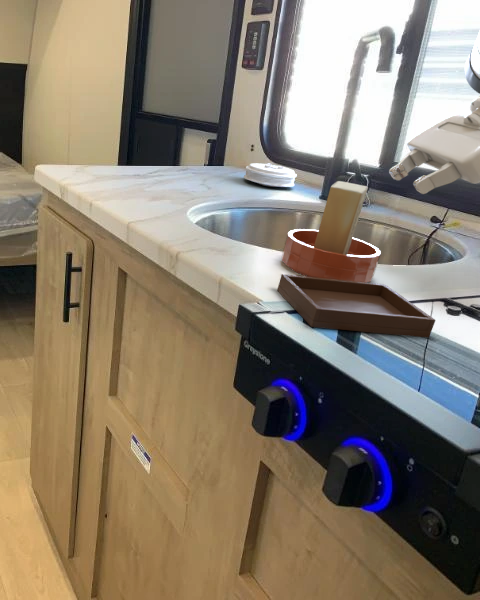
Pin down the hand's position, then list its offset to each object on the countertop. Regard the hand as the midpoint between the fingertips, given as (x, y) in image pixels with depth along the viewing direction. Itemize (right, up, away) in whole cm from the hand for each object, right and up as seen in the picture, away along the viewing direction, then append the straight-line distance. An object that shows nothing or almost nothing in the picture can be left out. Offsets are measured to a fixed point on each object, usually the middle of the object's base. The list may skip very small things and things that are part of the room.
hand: (403, 182), depth 84 cm
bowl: (-9, -12, +5) cm, 16 cm away
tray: (-12, -18, -10) cm, 24 cm away
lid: (+3, +13, +70) cm, 71 cm away
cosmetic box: (-9, -12, +5) cm, 16 cm away
